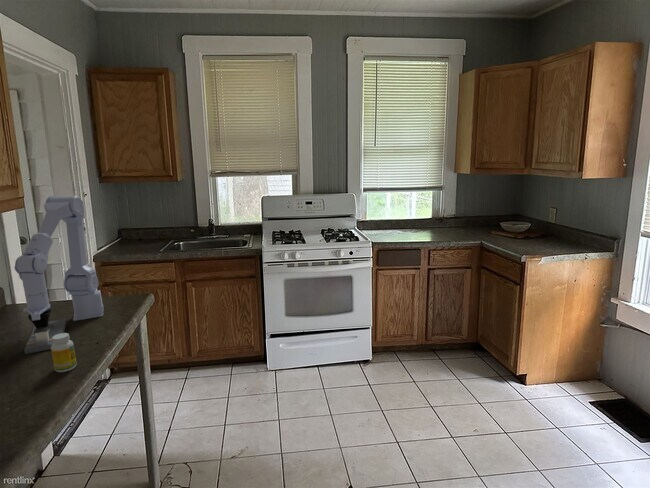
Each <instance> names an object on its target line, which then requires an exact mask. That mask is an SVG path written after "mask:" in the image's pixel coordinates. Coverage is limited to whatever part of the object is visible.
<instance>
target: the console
mask: <svg viewBox="0 0 650 488" xmlns="http://www.w3.org/2000/svg"><path fill="white" fill-rule="evenodd" d="M67 323H68V322H67V318H63V319H58V320H57V319H56V320H51V321H49V322H48V334H49V341H48V340H44V341H39V342H36V336H35V333H34V330H35V329H36V327H35V326H34V327H33V329H32V330H31V334H30V336H29V338H28V340H27V342H26V345H25V347H24V351H23V352H24V354H25V355H28V354H32V353H38V352H43V351H48V350H51V346H52V344H53V342H52V337H53V336H55V335H57V334H61V333H65V331H66V327H67Z"/></svg>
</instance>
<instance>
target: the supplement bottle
mask: <svg viewBox="0 0 650 488" xmlns="http://www.w3.org/2000/svg"><path fill="white" fill-rule="evenodd" d="M70 339H71V337H70V334H69V332H68V333H67V332H64V333H61V334H57V335H55V336H53V337H52V342H53V344H52V346H51V349H50V352H51V357H52V363H53V367H54V371H55V372H56V373H65V372H70V371H72V370H73V369H75V368H76V366H77V365H78V364H77V358H76V352H75V345H74V342H73V340H70Z"/></svg>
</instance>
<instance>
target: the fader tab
mask: <svg viewBox="0 0 650 488" xmlns="http://www.w3.org/2000/svg"><path fill="white" fill-rule="evenodd" d="M34 333H35V336H36V342H39V341H44V340H48V341H49V334H48V327H42V328H36V329H35V330H34Z"/></svg>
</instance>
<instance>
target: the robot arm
mask: <svg viewBox="0 0 650 488" xmlns="http://www.w3.org/2000/svg"><path fill="white" fill-rule="evenodd" d="M43 206H44V207H43V208H44V211H45V214H44V217H43V220H42V223H41V225H40V228H39V230H38V233H35V234H33V235H32V236H31V238H30V240H29V242H28V244H27V247H26V249H25V250H24V252H23V254H21V255H19V256H18V257H17V258H16V259H15V263H14V267H13V269H14V271H15V272H16V273H17V274H18V277H19V279H20V280H21V281H22V288H23V290H24V291H23V292H24V295H25V296H24V298H25V302H26V306H27V307H24V308H23V309H22V312H27V313H28V314H29V315H28V317H27V318H28V319H29V321H31V323H32V324H33V325H34V327H36V328H42V327H48V322H50V321H49V320H50V315H51V312H52V309H51V303H50V300H49V295H48V290H47V289H48V288H47V283H46V277H45V271H46V269H47V267H48V253H49V251H50V249H51V247H52V245H53V243H54V241H53V239H52V236H53V233H54V232H55V231H56V229H57V227H58V225H59V223H60V222H61V221H63V222H64V223H65V225H66V234H67V235H66V236H67V244H68V253H69V254H68V255H69V256H68V257H69V263H70V264H69V265H70V267H69V268H68V269H67V270H66V271H65V272H64V278H63V279H64V280H63V288H64V290H65V292H68V295H71V301H72V306H73V312H74V314H73V319H72V321H73V322H76V321H83V320H87V319H93V318H100V317H103V316H104V304H103V299H102V293H101V290H100V289H99V290H97V289H98V287H99V279H98V276H97V271H96V270H95V269H94V268H93V267H91V266H89V265H88V259H87V250H86V238H85V228H84V227H85V226H84V219H85V204H84V201H83V199H81V198H80V196H78V195H68V196H67V195H65V196H64V195H63V196H59V195H58V196H53V195H51V196H48V197H47V198H46V201H45V202H44V205H43Z"/></svg>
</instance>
